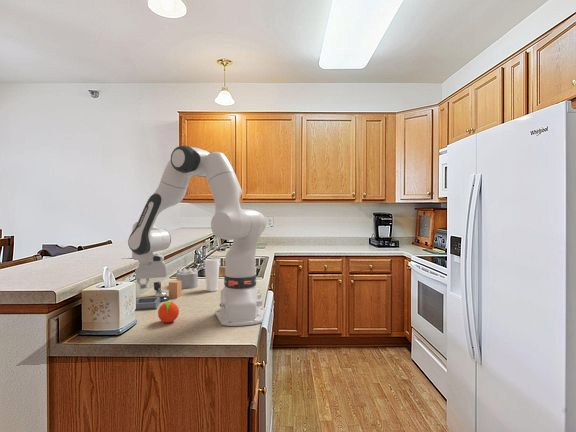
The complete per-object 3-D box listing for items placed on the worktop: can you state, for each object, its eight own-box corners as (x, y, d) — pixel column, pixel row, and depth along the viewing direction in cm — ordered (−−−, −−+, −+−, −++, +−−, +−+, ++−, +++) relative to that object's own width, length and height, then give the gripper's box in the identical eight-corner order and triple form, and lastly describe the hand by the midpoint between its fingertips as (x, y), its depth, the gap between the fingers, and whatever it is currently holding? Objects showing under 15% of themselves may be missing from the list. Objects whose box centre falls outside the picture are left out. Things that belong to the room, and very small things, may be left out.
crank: (167, 297, 148) (167, 286, 148) (156, 298, 146) (156, 287, 146) (161, 291, 159) (161, 281, 159) (151, 292, 157) (151, 282, 157)
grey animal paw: (176, 289, 169) (176, 271, 169) (176, 283, 182) (176, 267, 181) (198, 287, 172) (198, 270, 172) (197, 282, 185) (197, 266, 184)
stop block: (177, 298, 152) (177, 282, 152) (168, 298, 153) (168, 282, 152) (181, 296, 156) (181, 280, 156) (173, 295, 157) (173, 280, 156)
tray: (155, 309, 136) (155, 302, 136) (131, 310, 134) (131, 303, 134) (160, 302, 145) (160, 297, 144) (137, 304, 143) (137, 298, 143)
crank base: (167, 301, 146) (167, 298, 146) (152, 302, 145) (152, 299, 145) (169, 298, 152) (169, 295, 152) (155, 298, 151) (155, 296, 151)
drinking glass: (213, 288, 171) (213, 257, 171) (222, 290, 167) (222, 259, 166) (202, 290, 166) (201, 259, 166) (211, 292, 162) (210, 260, 161)
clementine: (178, 325, 117) (178, 304, 117) (156, 327, 115) (156, 306, 115) (179, 318, 125) (179, 298, 124) (159, 319, 123) (158, 299, 123)
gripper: (116, 259, 148) (116, 291, 148) (166, 257, 155) (167, 287, 155) (117, 257, 154) (118, 288, 154) (166, 255, 161) (166, 285, 161)
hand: (143, 288), depth 154 cm, fingers closed
